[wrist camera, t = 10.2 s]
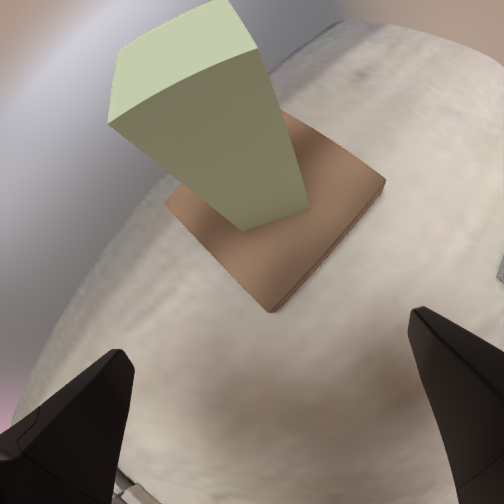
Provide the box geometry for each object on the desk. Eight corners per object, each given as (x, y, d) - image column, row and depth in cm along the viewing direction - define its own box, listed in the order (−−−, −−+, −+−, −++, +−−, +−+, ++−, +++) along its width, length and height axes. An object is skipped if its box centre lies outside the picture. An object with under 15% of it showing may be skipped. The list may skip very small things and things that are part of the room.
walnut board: (382, 191, 17) (386, 179, 16) (275, 312, 18) (268, 312, 16) (269, 115, 21) (263, 100, 19) (177, 211, 22) (164, 203, 20)
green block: (288, 149, 18) (224, -5, 7) (310, 208, 17) (257, 48, 5) (227, 172, 19) (118, 50, 8) (242, 231, 18) (107, 124, 6)
